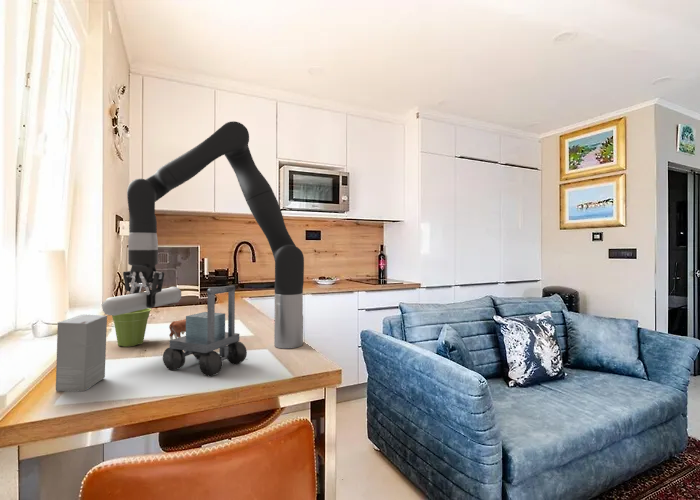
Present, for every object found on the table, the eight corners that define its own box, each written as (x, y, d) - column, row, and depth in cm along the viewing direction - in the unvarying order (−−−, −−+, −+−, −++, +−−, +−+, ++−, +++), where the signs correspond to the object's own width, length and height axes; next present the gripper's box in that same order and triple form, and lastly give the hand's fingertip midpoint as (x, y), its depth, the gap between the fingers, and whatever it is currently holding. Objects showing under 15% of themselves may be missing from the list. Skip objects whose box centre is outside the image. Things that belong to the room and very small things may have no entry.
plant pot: (156, 344, 120) (156, 310, 120) (115, 351, 112) (115, 314, 112) (144, 337, 128) (144, 306, 128) (105, 344, 120) (105, 310, 120)
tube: (115, 301, 93) (183, 289, 117) (99, 294, 94) (170, 284, 119) (110, 321, 94) (179, 305, 118) (95, 313, 95) (166, 299, 119)
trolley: (197, 356, 107) (197, 282, 107) (248, 363, 101) (248, 285, 101) (160, 369, 95) (160, 286, 95) (216, 378, 89) (216, 290, 89)
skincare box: (78, 379, 88) (78, 314, 88) (109, 378, 89) (109, 313, 89) (52, 392, 80) (53, 321, 80) (87, 392, 80) (87, 320, 80)
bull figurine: (207, 336, 132) (207, 313, 132) (172, 344, 120) (172, 319, 120) (200, 334, 134) (200, 312, 134) (165, 342, 123) (165, 318, 123)
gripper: (172, 248, 107) (172, 306, 107) (136, 248, 112) (137, 303, 112) (150, 248, 100) (150, 310, 100) (113, 248, 105) (113, 307, 105)
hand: (143, 306), depth 106 cm, fingers closed on tube, 5 cm apart
